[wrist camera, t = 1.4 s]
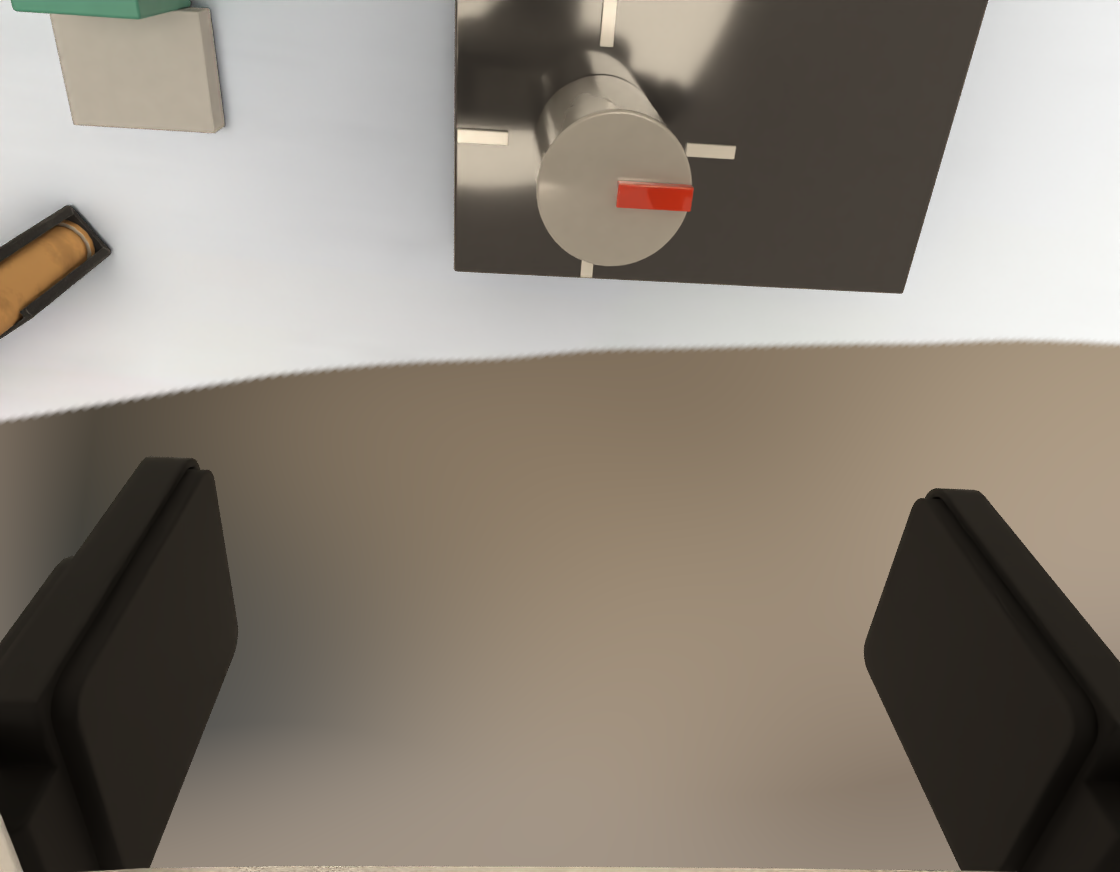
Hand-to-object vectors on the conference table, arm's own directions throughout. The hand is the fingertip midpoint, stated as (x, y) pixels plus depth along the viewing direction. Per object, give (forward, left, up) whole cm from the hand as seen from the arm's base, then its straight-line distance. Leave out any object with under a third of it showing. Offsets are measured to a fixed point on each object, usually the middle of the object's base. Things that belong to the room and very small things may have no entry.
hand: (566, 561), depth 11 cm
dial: (-2, +1, -16) cm, 16 cm away
